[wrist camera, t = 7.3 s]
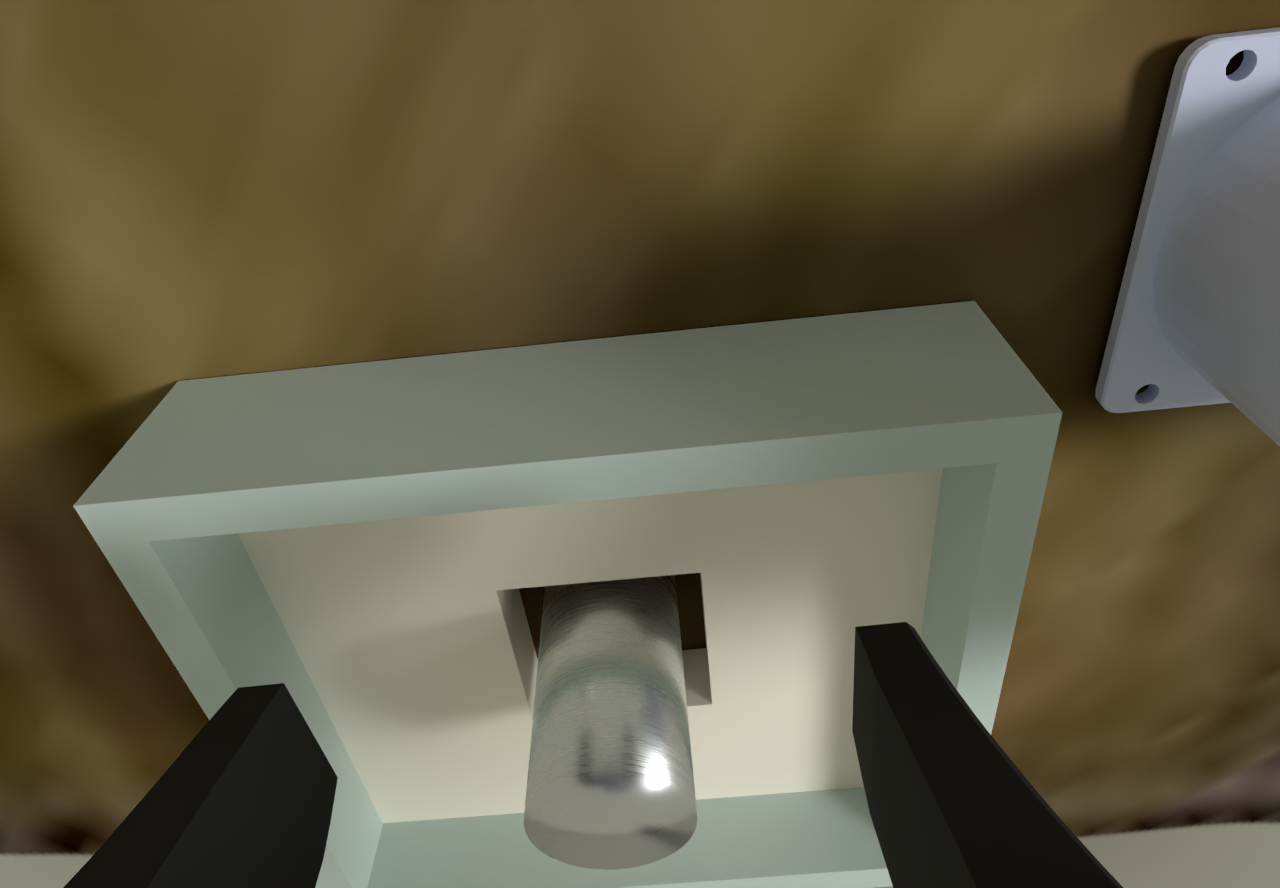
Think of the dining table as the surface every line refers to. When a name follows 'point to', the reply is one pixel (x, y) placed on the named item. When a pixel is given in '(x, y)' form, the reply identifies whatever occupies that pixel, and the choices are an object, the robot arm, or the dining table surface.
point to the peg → (610, 727)
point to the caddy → (590, 566)
